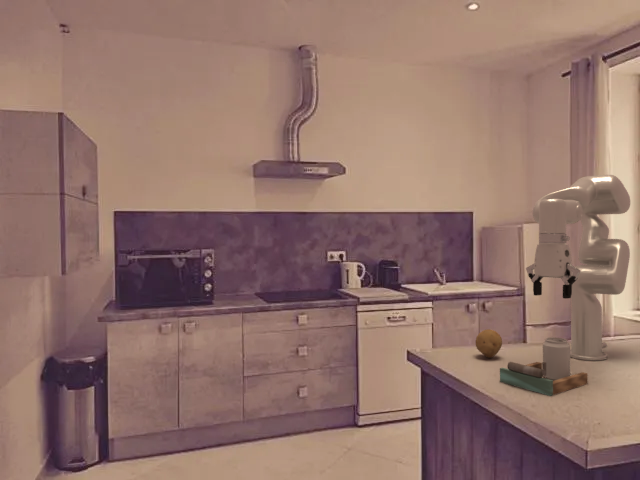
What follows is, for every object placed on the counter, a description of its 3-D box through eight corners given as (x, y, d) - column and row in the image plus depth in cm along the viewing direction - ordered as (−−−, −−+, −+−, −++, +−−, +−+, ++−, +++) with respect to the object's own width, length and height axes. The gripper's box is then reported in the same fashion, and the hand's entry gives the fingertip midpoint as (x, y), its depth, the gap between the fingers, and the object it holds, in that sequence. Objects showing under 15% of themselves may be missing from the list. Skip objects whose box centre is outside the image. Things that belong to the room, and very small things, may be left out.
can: (573, 383, 152) (573, 342, 152) (545, 382, 153) (545, 341, 153) (566, 375, 159) (566, 336, 159) (540, 374, 161) (540, 335, 160)
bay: (537, 371, 164) (537, 344, 164) (587, 383, 151) (587, 354, 151) (498, 382, 154) (498, 353, 154) (548, 396, 141) (548, 364, 140)
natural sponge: (498, 362, 176) (498, 333, 175) (472, 359, 180) (471, 330, 180) (504, 356, 183) (504, 328, 183) (479, 353, 188) (478, 326, 188)
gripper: (587, 240, 152) (586, 298, 152) (534, 240, 167) (534, 293, 167) (572, 239, 148) (571, 300, 148) (519, 239, 163) (519, 294, 163)
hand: (551, 296), depth 158 cm, fingers open, 9 cm apart
